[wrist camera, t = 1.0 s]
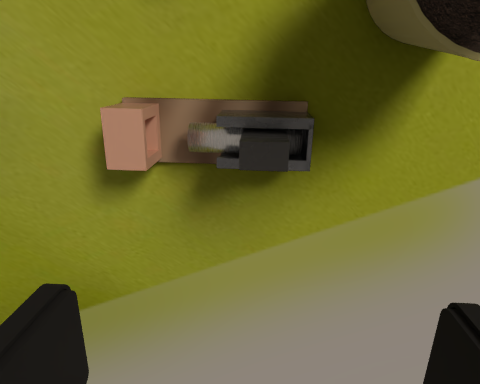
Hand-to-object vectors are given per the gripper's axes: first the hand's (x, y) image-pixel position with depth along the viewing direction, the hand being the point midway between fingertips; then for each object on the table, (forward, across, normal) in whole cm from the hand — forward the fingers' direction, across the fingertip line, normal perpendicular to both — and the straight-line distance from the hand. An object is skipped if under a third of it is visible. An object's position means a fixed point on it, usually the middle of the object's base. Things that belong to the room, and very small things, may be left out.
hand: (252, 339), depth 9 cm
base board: (+32, +5, 0) cm, 32 cm away
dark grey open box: (+32, -1, 0) cm, 32 cm away
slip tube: (+29, +1, 0) cm, 29 cm away
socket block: (+32, +13, 0) cm, 35 cm away
